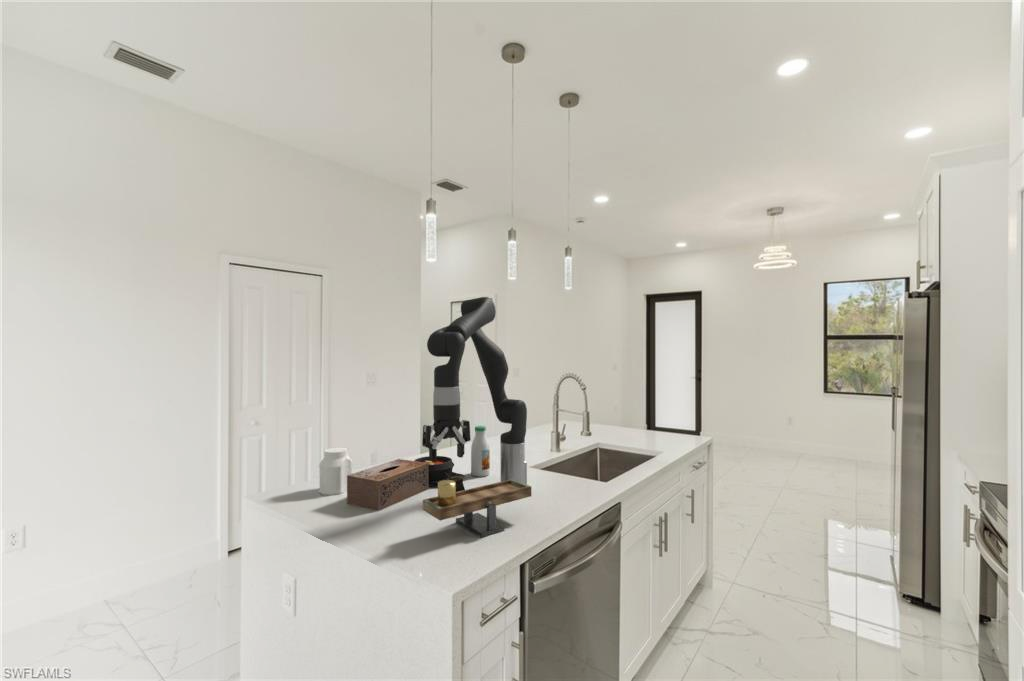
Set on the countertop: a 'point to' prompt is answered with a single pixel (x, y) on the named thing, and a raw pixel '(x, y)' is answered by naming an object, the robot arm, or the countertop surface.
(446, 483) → the cylinder
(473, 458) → the milk bottle
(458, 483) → the mate gourd
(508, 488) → the beam
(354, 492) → the tissue box cover
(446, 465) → the casserole
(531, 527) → the countertop surface
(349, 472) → the jar
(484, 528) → the pivot stand
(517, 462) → the robot arm
